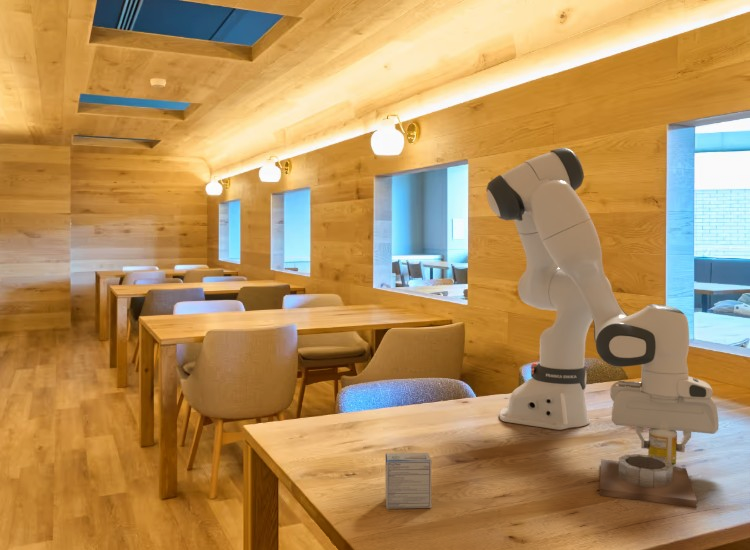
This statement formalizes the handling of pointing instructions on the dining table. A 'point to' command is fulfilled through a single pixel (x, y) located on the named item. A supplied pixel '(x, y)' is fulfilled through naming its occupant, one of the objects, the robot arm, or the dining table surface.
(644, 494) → the holder board
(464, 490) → the dining table surface
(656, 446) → the supplement bottle
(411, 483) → the medicine box
